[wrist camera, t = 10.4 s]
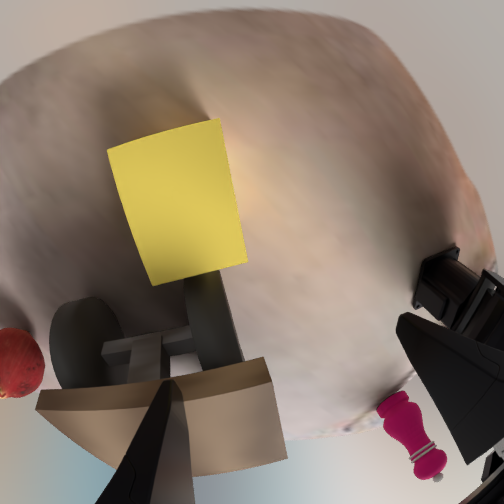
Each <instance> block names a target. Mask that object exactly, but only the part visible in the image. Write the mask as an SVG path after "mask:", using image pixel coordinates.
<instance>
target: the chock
mask: <svg viewBox="0 0 504 504" xmlns="http://www.w3.org/2000/svg"><path fill="white" fill-rule="evenodd" d="M107 153H108V157H109V161H110V165H111V168H112V172H113V175H114V179H115V182H116V186H117V189H118V192H119V196H120V199H121V202H122V205H123V208H124V211H125V214H126V217H127V220H128V223H129V226H130V229H131V232H132V235H133V238H134V240H135V243H136V246H137V248H138V251H139V254H140V256H141V259H142V261H143V264H144V267H145V269H146V271H147V274H148V276H149V279H150V281H151V284H152V286H155V285H159V284H163V283H167V282H171V281H175V280H179V279H183V278H187V277H191V276H195V275H199V274H203V273H207V272H211V271H215V270H219V269H223V268H227V267H231V266H234V265H238V264H242V263H246V262H248V259H247V254H246V249H245V244H244V239H243V234H242V229H241V224H240V219H239V214H238V209H237V204H236V199H235V194H234V189H233V184H232V179H231V174H230V169H229V164H228V158H227V153H226V148H225V143H224V138H223V133H222V128H221V123H220V118H217V119H212V120H208V121H203V122H199V123H194V124H190V125H186V126H182V127H178V128H174V129H170V130H167V131H163V132H160V133H156V134H153V135H149V136H146V137H143V138H140V139H137V140H133V141H130V142H127V143H124V144H122V145H119V146H116V147H113V148H110V149H108V150H107Z"/></svg>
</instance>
